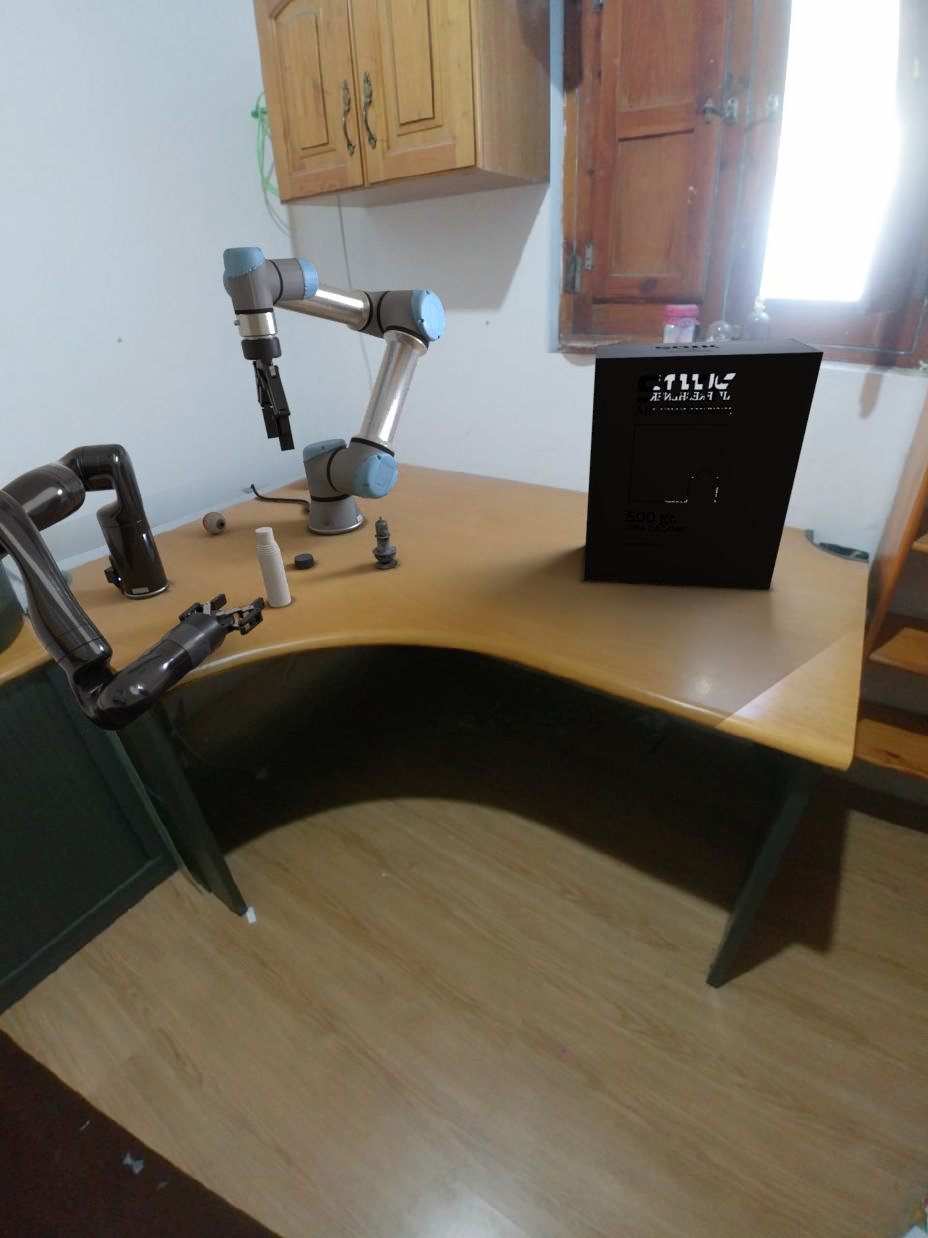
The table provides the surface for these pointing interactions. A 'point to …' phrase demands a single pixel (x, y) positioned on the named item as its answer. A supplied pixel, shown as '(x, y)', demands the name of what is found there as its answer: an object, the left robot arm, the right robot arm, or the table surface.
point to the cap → (304, 561)
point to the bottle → (272, 568)
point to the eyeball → (214, 522)
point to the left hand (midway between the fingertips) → (243, 599)
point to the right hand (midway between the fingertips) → (280, 443)
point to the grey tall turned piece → (384, 546)
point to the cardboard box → (695, 460)
